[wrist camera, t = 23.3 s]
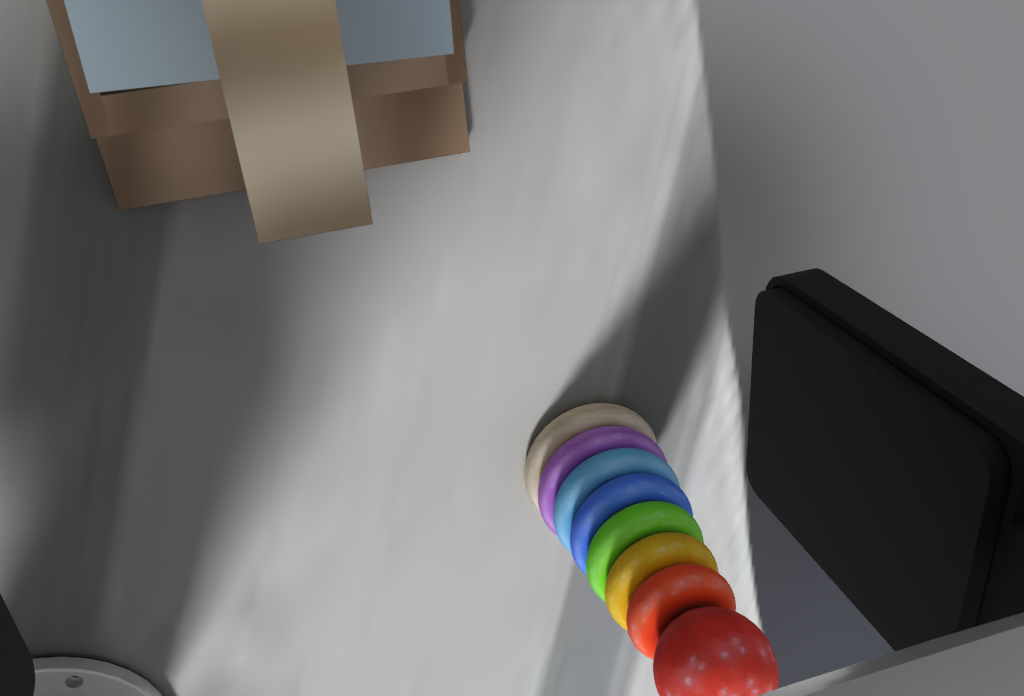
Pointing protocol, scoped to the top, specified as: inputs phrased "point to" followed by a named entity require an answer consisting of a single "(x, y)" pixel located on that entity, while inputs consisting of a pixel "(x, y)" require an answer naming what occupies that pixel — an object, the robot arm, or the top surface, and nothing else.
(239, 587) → the top surface
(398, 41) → the light blue rectangular block
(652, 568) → the stacking toy
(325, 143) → the beige rectangular block
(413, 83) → the cradle jig
